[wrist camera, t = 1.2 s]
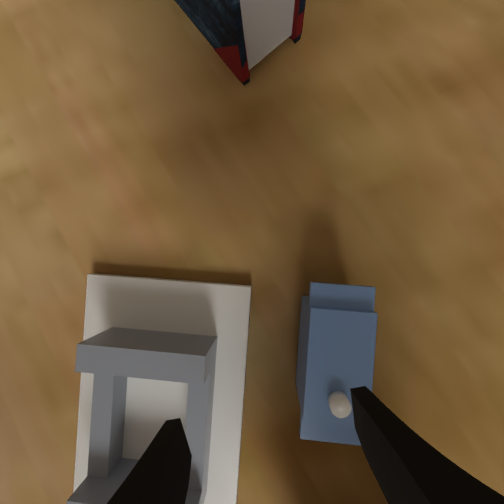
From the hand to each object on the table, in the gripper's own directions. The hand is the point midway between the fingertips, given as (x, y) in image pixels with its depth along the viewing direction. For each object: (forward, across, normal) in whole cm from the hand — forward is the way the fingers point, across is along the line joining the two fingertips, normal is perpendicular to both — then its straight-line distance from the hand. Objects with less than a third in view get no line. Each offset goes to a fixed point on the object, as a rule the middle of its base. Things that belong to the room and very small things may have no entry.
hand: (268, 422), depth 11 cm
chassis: (+10, +9, +6) cm, 15 cm away
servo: (+10, -5, +4) cm, 12 cm away
